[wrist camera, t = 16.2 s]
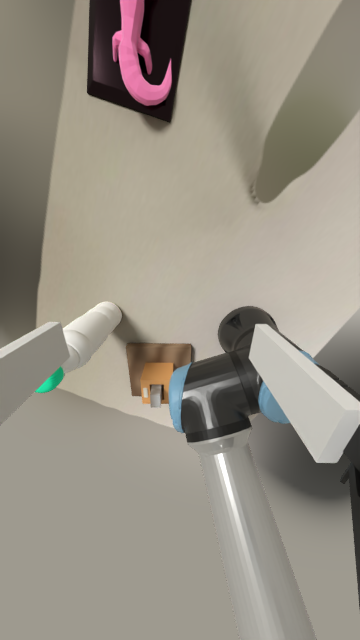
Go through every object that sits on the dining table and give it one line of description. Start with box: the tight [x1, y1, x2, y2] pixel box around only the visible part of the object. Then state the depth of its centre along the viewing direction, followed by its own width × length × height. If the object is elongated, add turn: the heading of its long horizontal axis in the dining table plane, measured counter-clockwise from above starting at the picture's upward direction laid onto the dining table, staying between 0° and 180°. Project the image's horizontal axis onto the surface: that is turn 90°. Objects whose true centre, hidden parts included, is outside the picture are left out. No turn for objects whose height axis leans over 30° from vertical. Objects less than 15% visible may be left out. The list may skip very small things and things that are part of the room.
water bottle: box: [35, 302, 122, 393], centre depth 33 cm, size 7×7×25 cm
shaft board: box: [126, 343, 191, 407], centre depth 46 cm, size 18×18×12 cm
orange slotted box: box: [140, 363, 173, 404], centre depth 46 cm, size 8×8×7 cm
